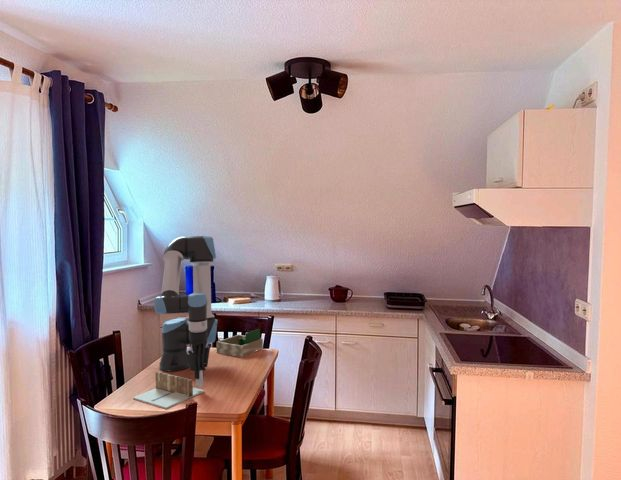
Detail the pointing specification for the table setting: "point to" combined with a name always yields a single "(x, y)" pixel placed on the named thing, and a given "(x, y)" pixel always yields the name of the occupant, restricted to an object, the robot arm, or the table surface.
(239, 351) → the box
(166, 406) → the card
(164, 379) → the fence fixed
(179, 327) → the robot arm
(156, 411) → the table surface
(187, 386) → the fence gate
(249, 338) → the pixelated creature
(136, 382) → the table surface
